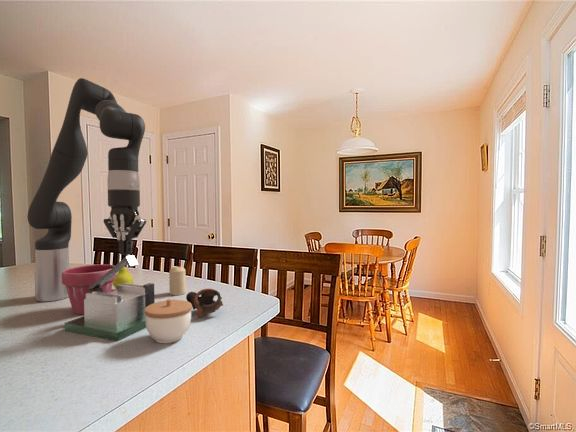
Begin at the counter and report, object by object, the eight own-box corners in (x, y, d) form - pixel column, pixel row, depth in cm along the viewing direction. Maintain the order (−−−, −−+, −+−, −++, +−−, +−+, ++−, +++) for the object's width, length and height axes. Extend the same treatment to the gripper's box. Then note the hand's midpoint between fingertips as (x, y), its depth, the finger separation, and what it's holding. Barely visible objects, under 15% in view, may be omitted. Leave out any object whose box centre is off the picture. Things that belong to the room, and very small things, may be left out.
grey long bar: (93, 296, 87) (88, 287, 87) (101, 294, 89) (97, 285, 90) (130, 265, 82) (125, 256, 82) (138, 264, 84) (133, 254, 84)
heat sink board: (64, 330, 81) (63, 288, 81) (117, 311, 96) (117, 275, 96) (117, 341, 75) (116, 295, 74) (165, 318, 90) (165, 280, 89)
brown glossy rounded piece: (227, 309, 100) (228, 290, 95) (213, 332, 92) (213, 313, 87) (193, 297, 102) (192, 278, 97) (176, 319, 94) (175, 300, 89)
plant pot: (50, 314, 93) (49, 271, 93) (94, 300, 106) (93, 262, 106) (85, 320, 88) (84, 274, 88) (127, 305, 102) (126, 265, 101)
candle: (188, 291, 118) (187, 264, 117) (181, 295, 112) (181, 267, 112) (173, 291, 118) (173, 264, 118) (166, 295, 113) (166, 267, 113)
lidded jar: (164, 351, 70) (163, 309, 69) (135, 340, 75) (134, 301, 75) (201, 335, 79) (201, 297, 78) (173, 326, 84) (172, 291, 84)
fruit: (127, 293, 116) (126, 260, 115) (108, 292, 116) (108, 260, 116) (136, 288, 123) (136, 257, 122) (119, 287, 123) (118, 257, 122)
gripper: (154, 189, 84) (155, 253, 85) (117, 189, 89) (118, 251, 90) (131, 187, 77) (132, 258, 78) (92, 188, 82) (94, 255, 83)
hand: (125, 254), depth 84 cm, fingers closed
